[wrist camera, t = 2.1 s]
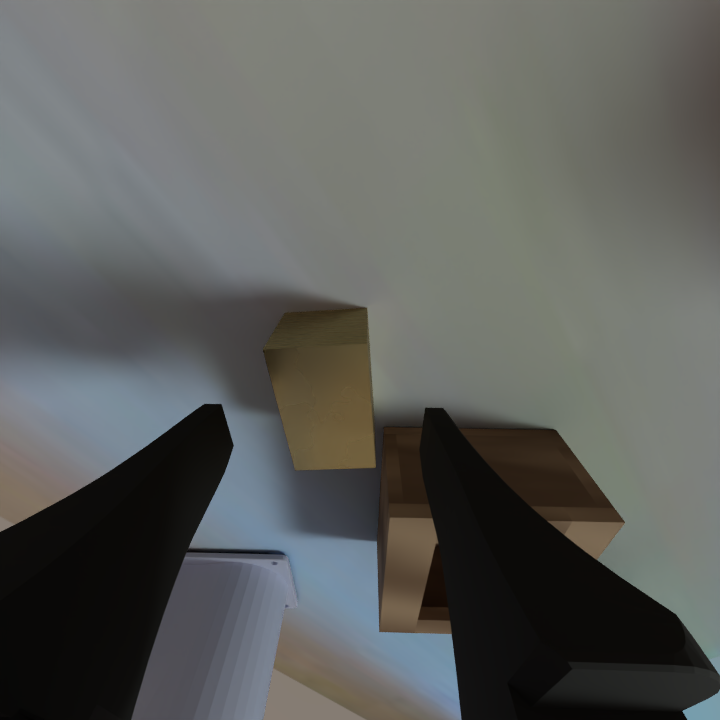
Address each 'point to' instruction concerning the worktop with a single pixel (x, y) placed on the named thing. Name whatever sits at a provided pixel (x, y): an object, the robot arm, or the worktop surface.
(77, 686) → the robot arm
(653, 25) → the worktop surface
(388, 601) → the walnut box
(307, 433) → the yellow rectangular block
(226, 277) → the worktop surface
